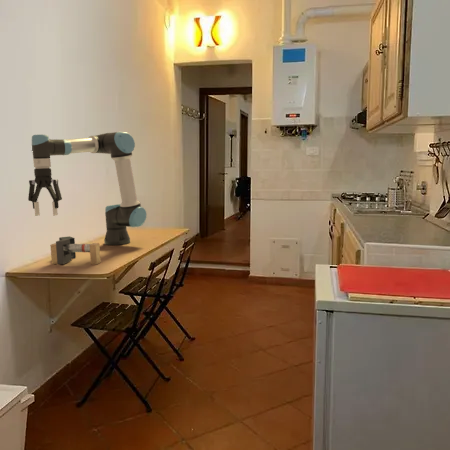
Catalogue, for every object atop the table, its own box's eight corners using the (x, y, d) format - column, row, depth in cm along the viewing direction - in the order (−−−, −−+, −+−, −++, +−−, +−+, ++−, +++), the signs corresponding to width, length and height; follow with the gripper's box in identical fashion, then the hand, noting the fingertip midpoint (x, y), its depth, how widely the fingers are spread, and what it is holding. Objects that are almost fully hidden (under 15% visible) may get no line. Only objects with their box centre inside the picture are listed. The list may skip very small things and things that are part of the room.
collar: (57, 264, 223) (55, 241, 222) (65, 260, 231) (64, 238, 230) (63, 264, 223) (61, 241, 221) (71, 260, 230) (69, 238, 229)
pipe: (51, 264, 226) (50, 244, 225) (56, 262, 230) (54, 243, 229) (96, 264, 222) (95, 244, 221) (100, 262, 226) (99, 243, 225)
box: (76, 258, 239) (74, 237, 238) (64, 259, 236) (63, 239, 234) (71, 256, 245) (69, 236, 244) (60, 257, 242) (58, 237, 241)
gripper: (17, 168, 220) (21, 216, 223) (59, 167, 217) (63, 216, 220) (26, 168, 228) (30, 214, 231) (67, 167, 224) (71, 214, 227)
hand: (46, 215), depth 225 cm, fingers open, 9 cm apart
